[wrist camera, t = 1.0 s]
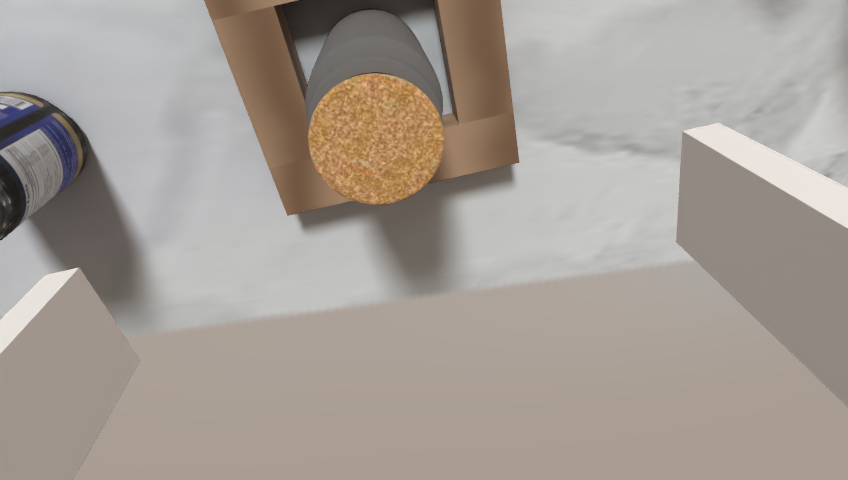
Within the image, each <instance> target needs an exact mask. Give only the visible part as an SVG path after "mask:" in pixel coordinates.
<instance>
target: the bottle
mask: <svg viewBox="0 0 848 480" xmlns="http://www.w3.org/2000/svg"><path fill="white" fill-rule="evenodd" d="M305 100H306V115H307V119H308V144H309V152H310V155H311V158H312V161H313V164H314V166H315V168H316V170H317V172H318V174H319V175H320V176H321V177H322V179H323V180H324V181H325V182H326V183H327V184H328V185H329V186H330V187H331V188H332V189H333V190H335V191H336V192H337V193H339V194H340V195H342V196H344V197H346V198H348V199H350V200H352V201H356V202H360V203H363V204H370V205H384V204H390V203H395V202H398V201H401V200H404V199H406V198H408V197H410V196H412V195H414V194H415V193H417V192H418V191H419V190H421V189H422V188H423V187H424V186H425V185H426V184H427V183H428V182H429V181H430V179H431V178H432V177H433V175H434V174H435V173H436V171H437V169H438V166H439V164H440V162H441V159H442V155H443V150H444V129H443V120H442V112H443V98H442V92H441V88H440V83H439V81H438V78H437V76H436V73H435V71H434V69H433V67H432V65H431V63H430V62H429V60H428V58H427V56H426V54H425V52H424V51H423V49H422V47H421V45H420V43H419V41H418V40H417V38H416V36H415V35H414V33H413V32H412V30H411V29H410V28H409V27H408V26H407V24H406V23H405V22H403V21H402V20H401V19H399V18H398V17H397V16H395V15H393V14H391V13H389V12H386V11H383V10H379V9H363V10H359V11H355V12H352V13H351V14H349V15H347V16H345V17H344V18H342V19H341V20H340V21H339V22H338V23H337V24H336V25H335V26H334V27H333V29H332V30H331V32H330V33H329V35H328V37H327V39H326V41H325V43H324V45H323V47H322V49H321V52H320V54H319V56H318V59H317V61H316V63H315V65H314V68H313V70H312V73H311V76H310V79H309V82H308V85H307V89H306V99H305Z"/></svg>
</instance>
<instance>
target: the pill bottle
mask: <svg viewBox="0 0 848 480" xmlns="http://www.w3.org/2000/svg"><path fill="white" fill-rule="evenodd" d="M85 160H86V146H85V142H84V139H83V137H82V134H81V133H80V131H79V129H78V127H77V126H76V125H75V123H74V122H73V121H72V120H71V119H70V118H69V117H68V116H67V115H66V114H65V113H63V112H62V111H61V110H60V109H59V108H57V107H56V106H54V105H52V104H51V103H49V102H48V101H46V100H44V99H42V98H39V97H37V96H34V95H30V94H26V93H22V92H0V240H2V239H3V238H4V237H6V236H7V235H8V234H9V233H11V232H12V231H13V230H14V229H15V228H17V227H18V226H19V225H20V224H21V223H23V222H24V221H25V220H26V219H27V218H29V217H30V216H31V215H32V214H33V213H35V212H36V211H37V210H38V209H40V208H41V207H42V206H43V205H45V204H46V203H47V202H48V201H49V200H51V199H52V198H53V197H54V196H56V195H57V194H58V193H59V192H60V191H62V190H63V189H64V188H65V187H66V186H68V185H69V184H70V183H71V182H73V181H74V180H75V179H76V178H77V177H78V176H79V174H80V173H81V171H82V170H83V168H84V165H85Z"/></svg>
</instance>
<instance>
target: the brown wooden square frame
mask: <svg viewBox="0 0 848 480" xmlns="http://www.w3.org/2000/svg"><path fill="white" fill-rule="evenodd" d="M204 1H205V4H206V6H207V9H208V11H209V14H210V17H211V19H212V22H213V24H214V27H215V29H216V32H217V35H218V37H219V40H220V42H221V45H222V48H223V50H224V53H225V55H226V58H227V60H228V63H229V66H230V68H231V71H232V73H233V76H234V79H235V81H236V84H237V86H238V89H239V91H240V94H241V97H242V99H243V102H244V104H245V107H246V110H247V112H248V115H249V117H250V120H251V122H252V125H253V128H254V130H255V133H256V135H257V138H258V141H259V143H260V146H261V148H262V151H263V154H264V156H265V159H266V161H267V164H268V166H269V169H270V172H271V174H272V177H273V179H274V182H275V185H276V187H277V190H278V192H279V195H280V197H281V200H282V203H283V205H284V208H285V210H286V213H287V216H288V215H293V214H297V213H302V212H306V211H310V210H315V209H319V208H323V207H328V206H332V205H336V204H341V203H345V202H350V201H352V200H350V199H348V198H346V197H344V196H342V195H340V194H339V193H337V192H336V191H335V190H333V189H332V188H331V187H330V186H329V185H328V184H327V183H326V182H325V181H324V180H323V179H322V177H321V176H320V175H319V174H318V172H317V170H316V168H315V166H314V164H313V161H312V158H311V155H310V152H309V144H308V119H307V115H306V100H305V99H306V89H307V83H306V80H305V77H304V74H303V71H302V68H301V64H300V61H299V58H298V55H297V52H296V49H295V46H294V42H293V39H292V36H291V33H290V30H289V27H288V24H287V20H286V17H285V14H284V11H283V8H282V5H281V4H284V3H288V2H293V1H297V0H204ZM433 1H434V7H435V13H436V18H437V24H438V30H439V35H440V41H441V46H442V52H443V58H444V63H445V69H446V75H447V80H448V86H449V92H450V97H451V103H452V108H453V113H452V114H447V115H443V116H442V120H443V129H444V150H443V155H442V159H441V162H440V164H439V166H438V169H437V171H436V173H435V174H434V175H433V177H432V178H431V179H430V181H429V182H428V183H432V182H437V181H441V180H446V179H450V178H454V177H459V176H463V175H467V174H472V173H476V172H480V171H485V170H489V169H494V168H498V167H502V166H507V165H511V164H515V163H519V157H518V148H517V140H516V131H515V122H514V114H513V105H512V97H511V88H510V79H509V71H508V62H507V54H506V45H505V36H504V28H503V19H502V11H501V2H500V0H433ZM428 183H427V184H428Z"/></svg>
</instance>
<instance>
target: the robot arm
mask: <svg viewBox="0 0 848 480" xmlns="http://www.w3.org/2000/svg"><path fill="white" fill-rule="evenodd" d="M676 242H677V243H678V244H679V245H680V246H681V247H682V248H683V249H684V250H685V251H686V252H687V253H688V254H689V255H690V256H691V257H692V258H693V259H694V260H695V261H697V262H698V263H699V264H700V265H701V266H702V267H703V268H704V269H705V270H706V271H707V272H708V273H709V274H710V275H711V276H712V277H713V278H714V279H715V280H716V281H717V282H718V283H720V285H721V286H722V287H723V288H724V289H726V290H727V291H728V292H729V293H730V294H731V295H732V296H733V297H734V298H735V299H736V300H737V301H738V302H739V303H740V304H741V305H742V306H743V307H744V308H745V309H746V310H747V311H748V312H749V313H750V314H751V315H752V316H753V317H755V318H756V319H757V320H758V321H759V322H760V323H761V324H762V325H763V326H764V327H765V328H766V329H767V330H768V331H769V332H770V333H771V334H772V335H773V336H774V337H775V338H776V339H777V340H779V342H781V344H783V345H784V346H785V347H786V348H787V349H788V350H789V351H790V352H791V353H792V354H793V355H794V356H795V357H796V358H797V359H798V360H799V361H800V362H801V363H802V364H803V365H805V367H806V368H807V369H808V370H810V371H811V372H812V373H813V374H814V375H815V376H816V377H817V378H818V379H819V380H820V381H821V382H822V383H823V384H824V385H825V386H826V387H827V388H828V389H829V390H830V391H831V392H832V393H833V394H834V395H835V396H836V397H837V398H839V400H841V401H842V402H843V403H844V404H845V405H846V406H847V407H848V188H847V187H845V186H843V185H841V184H839V183H837V182H835V181H833V180H831V179H829V178H827V177H825V176H823V175H821V174H819V173H817V172H815V171H813V170H811V169H809V168H807V167H805V166H803V165H801V164H799V163H797V162H795V161H793V160H791V159H789V158H787V157H785V156H783V155H781V154H780V153H778V152H776V151H774V150H772V149H770V148H768V147H766V146H764V145H762V144H760V143H758V142H756V141H754V140H752V139H750V138H748V137H746V136H744V135H742V134H740V133H738V132H736V131H734V130H732V129H730V128H728V127H726V126H724V125H722V124H720V123H716V124H712V125H707V126H703V127H698V128H694V129H689V130H685V131H682V148H681V166H680V184H679V202H678V220H677V238H676ZM139 362H140V358H139V357H138V355H137V354H136V352H135V351H134V349H133V348H132V346H131V345H130V343H129V342H128V340H127V339H126V337H125V336H124V334H123V333H122V331H121V330H120V328H119V327H118V325H117V324H116V322H115V321H114V319H113V317H112V316H111V314H110V313H109V311H108V310H107V308H106V307H105V305H104V304H103V302H102V301H101V299H100V298H99V296H98V295H97V293H96V292H95V290H94V289H93V287H92V286H91V284H90V283H89V281H88V280H87V278H86V277H85V275H84V274H83V272H82V271H81V269H80V268H74V269H70V270H66V271H61V272H57V273H52V274H48V275H45V276H44V277H43V278H42V279H41V280H40V281H39V282H38V283H37V284H36V285H35V286H34V287H33V288H32V289H31V290H30V291H29V292H28V293H27V294H26V295H25V296H24V297H23V298H22V299H21V300H20V301H19V302H18V303H17V304H16V305H15V306H14V307H13V308H12V309H11V310H10V311H9V312H8V313H7V314H6V315H5V316H4V317H3V318H2V319H1V320H0V480H74V478H75V477H76V475H77V473H78V471H79V470H80V468H81V466H82V464H83V463H84V461H85V459H86V457H87V455H88V453H89V452H90V450H91V448H92V446H93V444H94V443H95V441H96V439H97V437H98V436H99V434H100V432H101V430H102V429H103V427H104V425H105V423H106V421H107V420H108V418H109V416H110V414H111V412H112V411H113V409H114V407H115V405H116V403H117V402H118V400H119V398H120V396H121V395H122V393H123V391H124V389H125V387H126V386H127V384H128V382H129V380H130V378H131V377H132V375H133V373H134V371H135V370H136V368H137V366H138V364H139Z"/></svg>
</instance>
